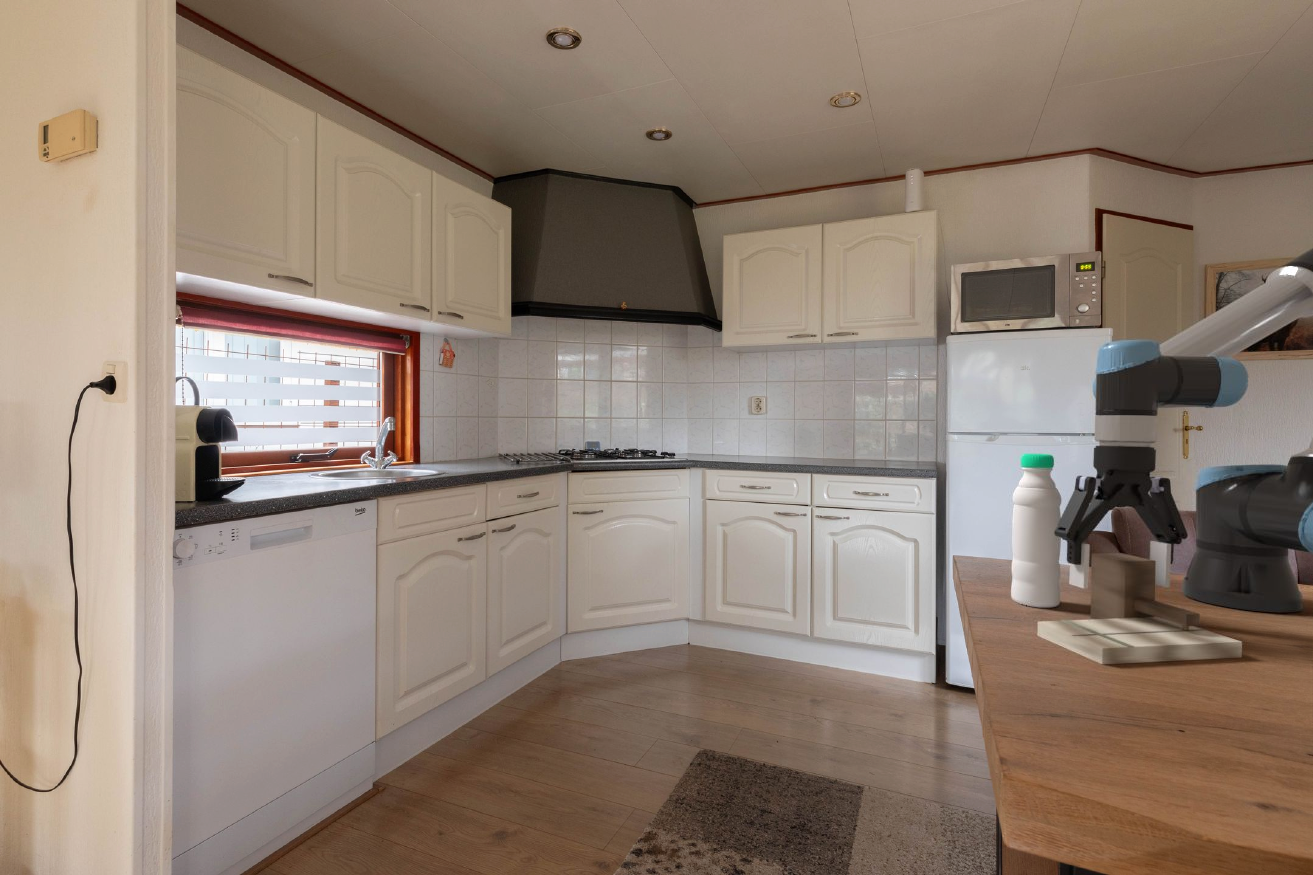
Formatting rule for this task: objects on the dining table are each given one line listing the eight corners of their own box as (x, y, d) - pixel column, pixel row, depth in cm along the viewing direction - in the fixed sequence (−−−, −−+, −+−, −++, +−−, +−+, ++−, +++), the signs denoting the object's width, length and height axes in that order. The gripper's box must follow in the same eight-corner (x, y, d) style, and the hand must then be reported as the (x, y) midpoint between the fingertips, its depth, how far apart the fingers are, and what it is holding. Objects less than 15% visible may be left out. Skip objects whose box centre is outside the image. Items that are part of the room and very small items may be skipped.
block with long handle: (1119, 616, 99) (1120, 552, 99) (1208, 647, 86) (1210, 573, 85) (1090, 617, 99) (1091, 553, 99) (1176, 649, 85) (1177, 574, 85)
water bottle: (1056, 600, 109) (1058, 453, 108) (1063, 611, 102) (1065, 455, 102) (1009, 595, 112) (1011, 452, 111) (1012, 605, 105) (1014, 454, 105)
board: (1162, 630, 93) (1162, 615, 93) (1241, 657, 82) (1242, 641, 82) (1037, 635, 90) (1037, 620, 90) (1102, 664, 79) (1102, 647, 79)
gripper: (1173, 445, 101) (1168, 579, 101) (1030, 442, 98) (1026, 580, 98) (1222, 447, 94) (1216, 591, 94) (1068, 443, 90) (1063, 593, 91)
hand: (1119, 586), depth 96 cm, fingers open, 13 cm apart
